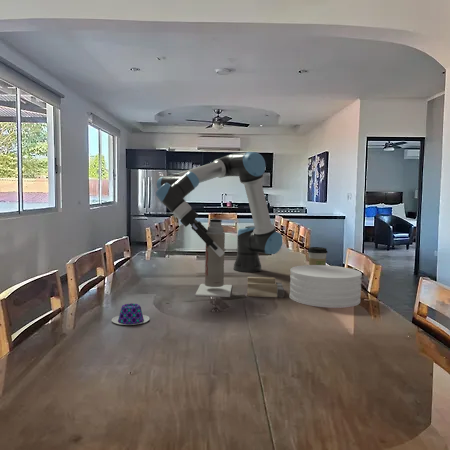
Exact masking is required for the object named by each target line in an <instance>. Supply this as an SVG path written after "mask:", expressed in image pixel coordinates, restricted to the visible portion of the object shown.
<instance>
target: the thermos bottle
mask: <svg viewBox="0 0 450 450" xmlns="http://www.w3.org/2000/svg"><path fill="white" fill-rule="evenodd" d="M222 221H223V220H222V219H217V218H215V219H210V221H209V226H208V227H207V228H206V229H207V230H208V232H206V233H207V235H208V236H209V237H210V238H211V239H212V240H213V242H215V243H216V244H217V245H218V246H219V247H220V248H221V249H222V250H223V251H224V248H225V244H226V243H225V240H226V239H225V238H226V233H225V232H224V227H223V226H222ZM224 252H225V251H224ZM204 255H205V261H204V262H205V263H204V265H205V266H204V268H205V269H204V284H205V286H209V287H221V286H223V285H225V284H224V282H225V281H224V280H225V278H224V277H225V276H224V275H225V253H224V254H223V255H222V256H221V257H219V256H218V255H217V254H216V253H215V252H214V251H213V250H212V248H211V247H210V245H209V246H208V247H207V246H206V245H205V254H204Z"/></svg>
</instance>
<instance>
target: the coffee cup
mask: <svg viewBox="0 0 450 450" xmlns="http://www.w3.org/2000/svg"><path fill="white" fill-rule="evenodd" d="M307 252H308V265H326V262H327V254H328V253H329V252H328V249H327V248H326V247H323V246H322V247H318V246H310V247H309V248H308V249H307Z"/></svg>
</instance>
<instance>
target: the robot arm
mask: <svg viewBox="0 0 450 450" xmlns="http://www.w3.org/2000/svg"><path fill="white" fill-rule="evenodd" d="M265 171H266V161H265V158H264V157H263V155H262V154H260V153H258V152H256V151H246V152H245V151H244V152H234V153H230V154H227V155H225V156H222V157H220V158H217V159H214V160H213V162H210V163H206V164H204V165H201V166H196V167H193V168H190V169H188V170H184V171H180V172H178V173H173V174H171V175H164V176H160V177H159V178H158V179H157V181H156V188H157V190H156V192H155V196H156V197H157V198H158V200H159V201H160V203H162V204H163V205H164V206H165V207H166V208H167V209H168V210H169V211H170V213H172V215H173V217H174V218H176V219H178V220H180V221H179V222H180V223H181V225H182V226H184V227H185V228H187V227H188V226H191V229H192V230H193V231H194V233H196V235H197V236H198V237H199V238H200V239H201V240H202V241H203V242H204V243H205V247H206V246H207V247H208V246H209V245H210V247H211V248H212V250H213V251H214V252H215V253H216V254H217V255H218V256H219V257H221V256H222V255H223V254H224V255H225V252H226V248H225V247H224V251H223V250H222V249H221V248H220V247H219V246H218V245H217V244H216V243H215V242H213V240H212V239H211V238H210V237H209V236H208V235H207V233H206V232H208V230H207V229H208V228H207V227H205V225H203V224H202V222H201V221H198V220H196V219H197V218H198V217H199V214H198V213H197V212H196V210H194V209H193V208H192V206H191V205H190V204H189V203H188V202H187V201H186V200H185V199H184V198H185V197H187V195H189V194H190V193H192V191H195V189H196V188H197V187H198V186H199V184H201V183H203V182H207V181H209V180H212V179H213V180H214V179H216V178H220V179H223V178H226V177H239V181H240V183H241V184H243V185H244V189H245V192H246V193H245V194H246V197H247V201H248V205H249V209H250V213H251V216H252V217H251V218H252V222H253V225H254V227H241V228H239V229H238V230H237V246H236V247H237V252H236V253H237V254H236V258H235V261H234V263H233V270H235V271H237V272H245V273H249V272H250V273H254V272H256V273H257V272H261V271H262V263H261V260H260V256H259V254H260V253H261V254H265V255H275V254H277V253H278V252H279V251H280V250H281V249H282V246H283V240H284V239H283V236H282V234H281V233H280V232H278V231H277V230H276V226H275V225H274V224H273V223H272V221H271V218H270V213H269V212H270V211H269V209H268V204H267V200H266V195H265V192H264V187H263V184H262V179H263V178H264V173H265Z"/></svg>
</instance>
